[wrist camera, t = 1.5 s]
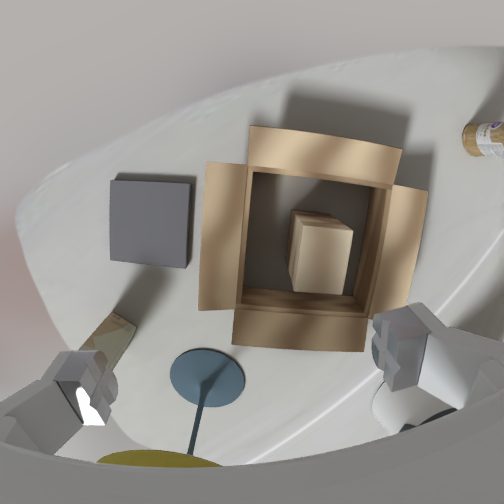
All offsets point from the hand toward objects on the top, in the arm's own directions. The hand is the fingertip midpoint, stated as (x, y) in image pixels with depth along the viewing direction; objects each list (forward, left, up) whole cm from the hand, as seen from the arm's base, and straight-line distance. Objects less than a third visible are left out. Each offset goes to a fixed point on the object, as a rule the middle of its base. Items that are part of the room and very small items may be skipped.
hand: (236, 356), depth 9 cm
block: (-7, +2, -29) cm, 30 cm away
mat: (+12, +2, -29) cm, 32 cm away
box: (+17, +18, -29) cm, 39 cm away
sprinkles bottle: (-29, -14, -29) cm, 43 cm away
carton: (-7, +2, -29) cm, 30 cm away
